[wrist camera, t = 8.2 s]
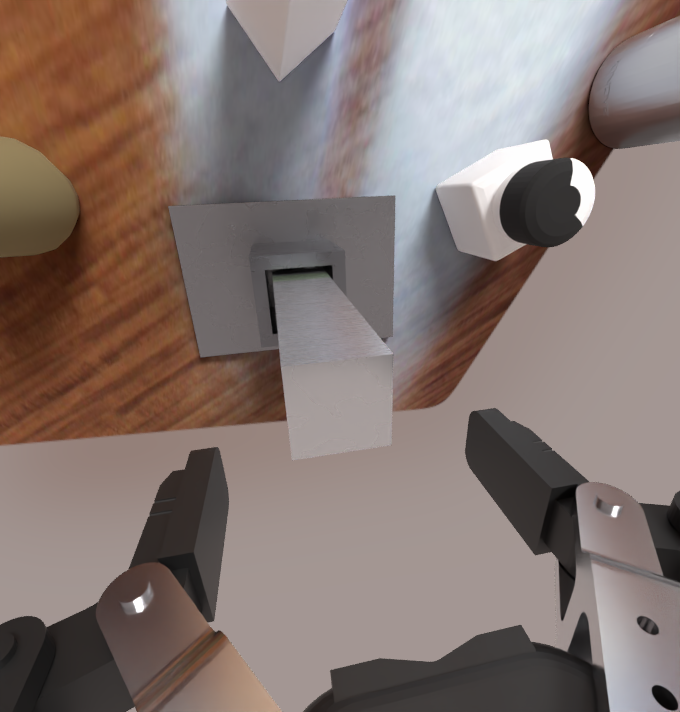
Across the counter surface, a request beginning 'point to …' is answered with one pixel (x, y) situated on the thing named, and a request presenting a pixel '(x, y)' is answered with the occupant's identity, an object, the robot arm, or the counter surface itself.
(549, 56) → the counter surface
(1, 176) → the squeeze bottle
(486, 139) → the counter surface
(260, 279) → the stand
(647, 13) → the counter surface
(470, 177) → the medicine bottle
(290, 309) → the column
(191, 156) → the counter surface
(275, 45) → the milk
